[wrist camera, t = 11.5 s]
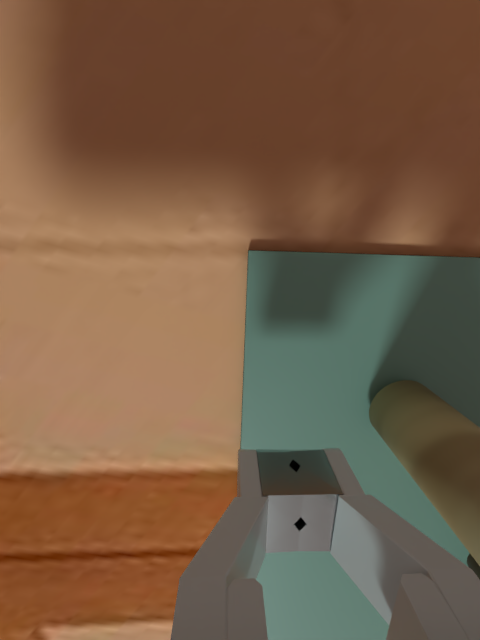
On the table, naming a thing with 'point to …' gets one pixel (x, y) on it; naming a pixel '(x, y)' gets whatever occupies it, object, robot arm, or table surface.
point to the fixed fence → (473, 565)
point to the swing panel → (434, 453)
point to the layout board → (351, 398)
